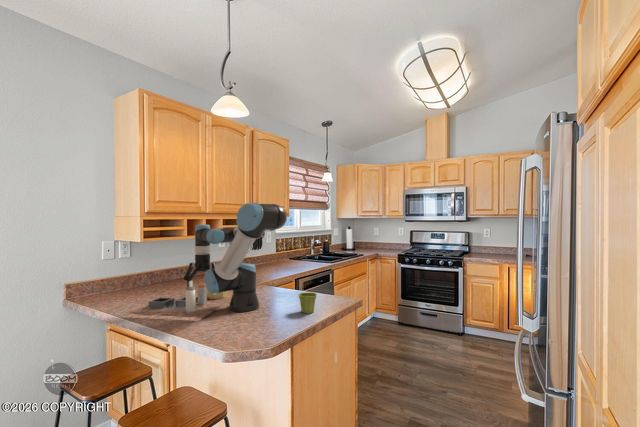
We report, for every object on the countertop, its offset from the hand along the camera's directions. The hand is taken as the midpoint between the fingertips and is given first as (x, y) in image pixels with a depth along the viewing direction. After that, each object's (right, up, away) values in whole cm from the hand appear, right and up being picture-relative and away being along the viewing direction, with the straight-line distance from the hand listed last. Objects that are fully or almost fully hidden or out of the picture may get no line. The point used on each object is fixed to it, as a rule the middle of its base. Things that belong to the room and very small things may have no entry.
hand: (202, 293), depth 169 cm
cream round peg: (-1, -7, -13) cm, 15 cm away
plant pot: (+56, -7, -10) cm, 57 cm away
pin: (0, -7, 0) cm, 7 cm away
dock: (-14, -7, -2) cm, 16 cm away
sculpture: (+3, -7, +15) cm, 17 cm away
